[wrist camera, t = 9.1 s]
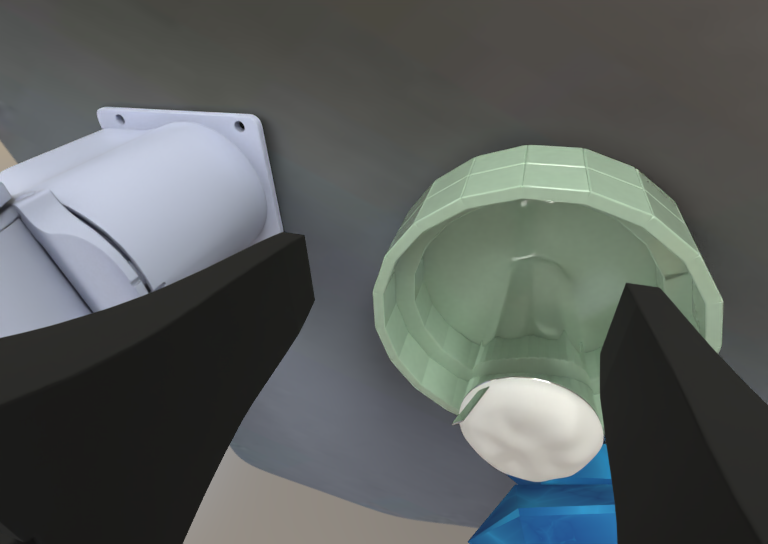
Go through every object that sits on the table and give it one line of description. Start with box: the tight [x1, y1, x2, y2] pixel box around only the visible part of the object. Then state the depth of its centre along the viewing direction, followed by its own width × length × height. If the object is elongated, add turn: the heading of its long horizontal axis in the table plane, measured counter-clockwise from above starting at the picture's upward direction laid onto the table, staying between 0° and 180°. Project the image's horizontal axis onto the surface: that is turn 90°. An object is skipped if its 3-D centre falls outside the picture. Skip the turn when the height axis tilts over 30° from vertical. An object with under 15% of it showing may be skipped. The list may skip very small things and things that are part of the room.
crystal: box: [468, 444, 617, 544], centre depth 25 cm, size 7×9×12 cm
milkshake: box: [452, 258, 603, 482], centre depth 17 cm, size 4×5×10 cm
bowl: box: [373, 145, 723, 434], centre depth 20 cm, size 13×13×4 cm
